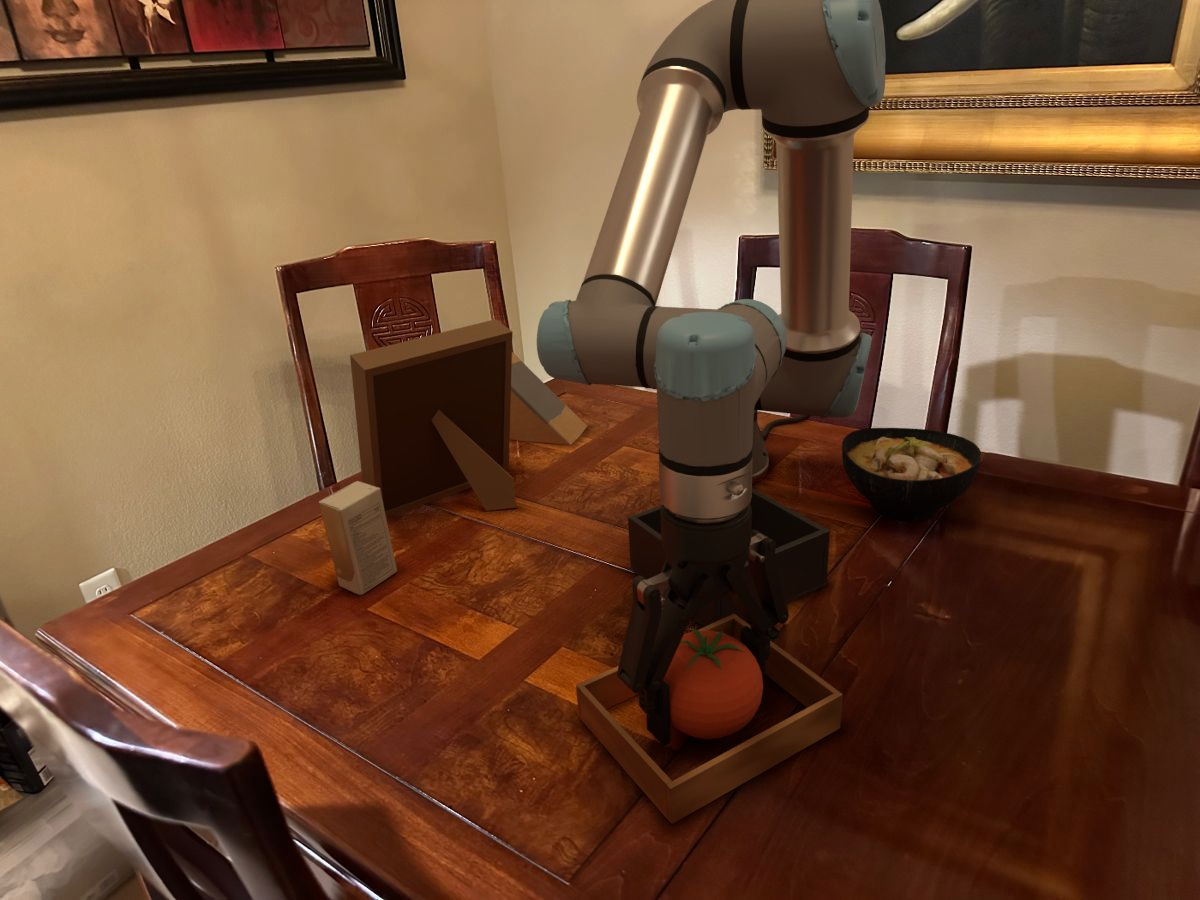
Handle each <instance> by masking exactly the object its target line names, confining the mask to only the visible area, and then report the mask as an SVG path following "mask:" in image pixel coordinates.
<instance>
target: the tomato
mask: <svg viewBox="0 0 1200 900" xmlns="http://www.w3.org/2000/svg"><path fill="white" fill-rule="evenodd" d="M689 630H691V631H689V632H685V633H684V635H683V637H682V640H681V642H680V644H679V646H678V649H677V651H676V653H675V655H674V657H673V660H672V662H671V664H670V666H669V668H668V671H667V673H666V675H665V677H664V680H663V681H664V682H666V683H667V684H668V685H669V689H670V725H671V727H673V728H674V729H676V730H677V731H679V732H681V733H682V734H684V735H686V736H689V737H693V738H696V739H700V740H701V739H703V740H715V739H722V738H725V737H728V736H731V735H733V734H735V733H737V732H739V731H740V730H741V729H743V728H744V727H746V726H747V724H749V722H750V721H751V720H752V719H753V718H754V717H755V715H756V713H757V711H758V709H759V707H760V705H761V703H762V697H763V696H762V692H763V680H762V673H761V670H760V667H759V665H758V663H757V660H756V658H755V657H754V656H753V654H752V653H751V652H750V650H749V649H748V648H747V647H746V646H745V645H744V644H743V643H742V642H740V641H738V640H737V639H735V638H733V637H731V636H729V635H727V634H725V633H723V631H721V632H716V631H710V630H704V631H698V630H699V629H694V628H689Z"/></svg>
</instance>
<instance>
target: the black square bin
mask: <svg viewBox="0 0 1200 900" xmlns="http://www.w3.org/2000/svg"><path fill="white" fill-rule="evenodd" d="M661 506H662V504H660V505H658V506H655V507H652V508H649V509H646V510H642V511H641V512H638V513H635V514H633V515H630V516H628V517H627V525H628V527H627V528H628V546H629V548H628V549H629V565H630V567H629V570H630V571H631V572H632V573H634V574H635V575H636V576H642V577H644V578H645V579H646V580H648V579H650V578H652V577H654V576H656V575H659V574H661V570H662V567H663V565H664V562H665V552H664V549H663V545H662V540H661V511H660V510H661ZM750 506H751V509H752V522H751V531H752V530H756V531H758V532H760V533H761V534H763V535H765V536H766V537H768V538H770V539H771V540H773V541H775V543H776V550H775V565H776V569H777V573H778V576H779V580H780V584H781V587H782V591H783V595H784V598H785V602H786V605H788V604H790V603H793V602H795V601H797V600H799V599H801V598H804V597H805V596H807V595H810V594H812V593H814V592H816V591H819V590H821V589H823V588H825V587H827V585H828V584H827V583H828V568H829V552H830V539H831V538H830V537H831V530H830V529H828V528H826V527H825V526H823V525H822V524H820V523H817V522H815V521H813V520H811V519H810V518H808V517H806V516H805V515H802V514H800V512H799V513H798V512H797V511H796V510H793V509H792V508H790V507H788V506H786V505H784V504H782V503H781V502H779V501H777V500H775V499H773V498H772V497H769V496H768V495H766V494H764V493H762V492H760V491H759V490H757V489H755V488H753V487H752V498H751V501H750ZM740 574H741V577H742V579H743V580H744V581H745V583H746V584H747V586H748V587H749V589H750V593H751V594H752V596H753V597H754V599H755V600H756V602H757V603H758V604H759V606H760V607H761V604H760V601H759V598H758V594H757V591H756V587H755V584H754V581H753V577H752V574H751V570H750V567H749V564H748V560H747V561H746V563H745V565H744V567H743V569H742V571H741V573H740ZM678 601H679V602H680V603H682V604H683V605H684V606H685V607H686V605H687V603H686V602H685V601H683V600H682V599H681V598H680V597H679V596H678ZM761 609H762V608H761ZM732 614H735V615H737V616H738V617H739V618H741V619H742V620H743V621H745V622H746V623H747V624H748V622H747V621H746V620H745V618H744V617H743V616H742V614H741V613H740V611H739V610H738V609H737V607H736V606H735V605H734V603H733V602H732V600H731V599H730V598H729V596H728V595H727V597H724V598H722V599H718V600H713V601H712V602H710V603H709V604H707V605H706V606H704V607H701V608H700V611H699V613H698V615H697V617H696V619H695V621H694V622H695V623H696V624H697V625H699V626H700V628H703V627H706V626H708V625H710V624H712V623H714V622H717V621H719V620H721V619H723V618H726V617H728V616H730V615H732Z"/></svg>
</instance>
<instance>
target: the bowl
mask: <svg viewBox="0 0 1200 900" xmlns="http://www.w3.org/2000/svg"><path fill="white" fill-rule="evenodd" d="M841 452H842V453H841V457H842V459H841V460H842V465H843V469H844V471H845V474H846V476H847V477H848V479H849V481H850V483H851V484H852V485H853V487H854V488H855V489H856V491H857V492H858V493H859V494H860V495H861V496H862V497H863V498H865V499H866V500H867V501H868V503H869V505H870V507H871V509H872V510H873V511H874V512H875V513H876V514H877V515H879V516H881V517H882V518H884V519H888V520H890V521H895V522H899V523H923V522H925V521H926V522H927V521H929V520H931V519H933V518H934V517H935V516H936V515H937V514H938V513H939V511H940V510H942V509H943V508H945V507H947V506H949V505H951V504H952V503H954V502H955V501H956V500H957V499H959V498H960V497H961V496H962V495H964V494H965V493H966V492H967V491H968V489H969V488H970V487H971V485H972V484H973V483H974V481H975V479H976V476H977V474H978V471H979V469H980V465H981V459H982V452H981V449H980V448H979V445H977V444H976V443H975V442H973V441H971V440H970V439H968V438H966V437H962V436H959V435H957V434H954V433H948V432H943V431H938V430H931V429H923V428H909V427H867V428H861V429H857V430H853V431H851V432H850V433H848V434H847V435H846V436H845V437H844V438H843V439H842V442H841Z"/></svg>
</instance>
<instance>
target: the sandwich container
mask: <svg viewBox="0 0 1200 900" xmlns="http://www.w3.org/2000/svg"><path fill="white" fill-rule="evenodd" d="M587 427H588V424H586V423H585V422H584V420H582V419H581V418H580V417H579V416H578V415H577V414H576V413H575V412H574V411H573V410H572V409H571V408H570V407H569V406H568V405H567V404H566V403H565V402H564V401H562V400H561V399H560V397H558V396H557V395H556V393H554V392H553V391H552V390H551V389H550V388H549V387H548V386H547V385H546V383H545V382H543V380H541V378H539V377H538V376H537V375H536V374H535V373H534V372H533V371H532V370H531V369H530V368H529V367H528V366H527V365H526V364H525V363H524V362H523V361H522V360H521V358H519V356H518V355H517V354H515V352H514V351H512V370H511V406H510V441H519V442H529V443H541V444H542V443H544V444H555V445H566V446H572V445H573V443H575V442H576V441H577V440H578V438H579V437H581V436H582V434H583V433H584V431H585V430H586V429H587Z"/></svg>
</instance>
